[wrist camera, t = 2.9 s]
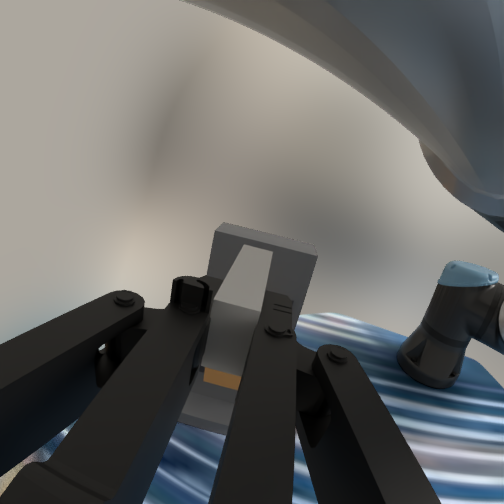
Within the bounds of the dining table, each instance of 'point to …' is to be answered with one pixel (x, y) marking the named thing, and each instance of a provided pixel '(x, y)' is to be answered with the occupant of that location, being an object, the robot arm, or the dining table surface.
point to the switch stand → (279, 281)
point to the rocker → (221, 378)
